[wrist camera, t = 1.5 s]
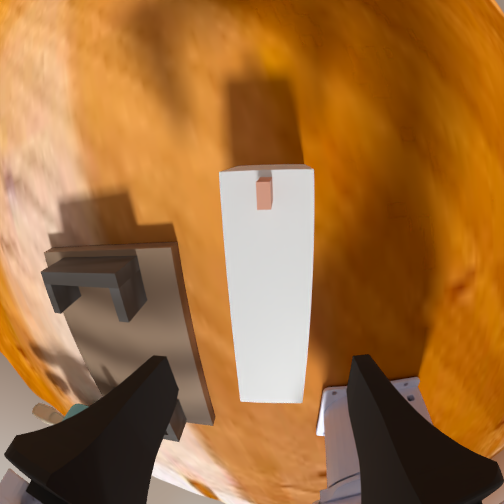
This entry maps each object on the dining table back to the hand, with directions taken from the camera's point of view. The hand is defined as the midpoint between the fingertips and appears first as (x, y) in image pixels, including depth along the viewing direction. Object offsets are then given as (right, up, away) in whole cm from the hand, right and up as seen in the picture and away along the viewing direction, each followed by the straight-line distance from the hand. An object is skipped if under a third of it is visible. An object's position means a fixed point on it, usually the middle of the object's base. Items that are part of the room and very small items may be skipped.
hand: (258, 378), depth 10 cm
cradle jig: (-11, -4, +13) cm, 17 cm away
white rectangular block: (+1, +4, +9) cm, 10 cm away
